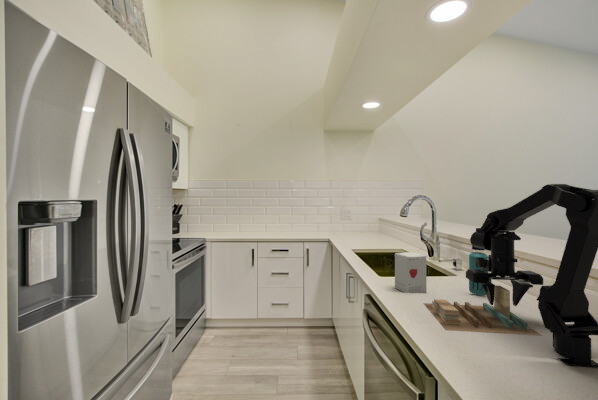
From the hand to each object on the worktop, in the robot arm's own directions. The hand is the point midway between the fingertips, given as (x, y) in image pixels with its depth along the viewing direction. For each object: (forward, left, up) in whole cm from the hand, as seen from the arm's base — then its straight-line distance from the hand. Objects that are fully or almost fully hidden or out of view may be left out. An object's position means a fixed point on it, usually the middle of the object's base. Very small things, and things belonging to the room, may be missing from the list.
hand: (503, 305), depth 82 cm
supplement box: (+27, +20, -5) cm, 34 cm away
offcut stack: (0, +17, -4) cm, 17 cm away
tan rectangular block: (+1, 0, -4) cm, 4 cm away
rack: (0, +9, -5) cm, 10 cm away
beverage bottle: (+23, -4, -5) cm, 24 cm away
